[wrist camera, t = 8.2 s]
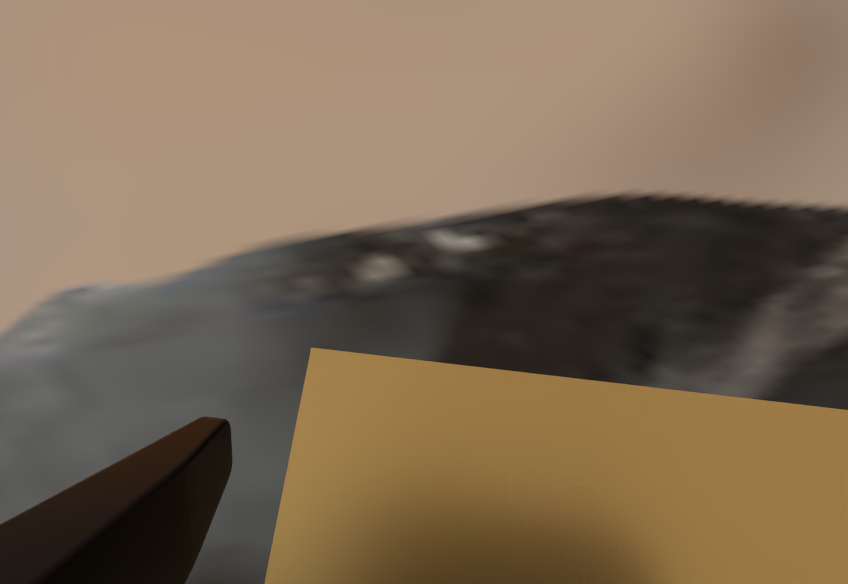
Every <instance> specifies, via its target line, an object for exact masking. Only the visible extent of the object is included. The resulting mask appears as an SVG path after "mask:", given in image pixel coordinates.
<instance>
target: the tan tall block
mask: <svg viewBox="0 0 848 584" xmlns="http://www.w3.org/2000/svg"><path fill="white" fill-rule="evenodd" d="M264 584H848V410H843V409H834V408H825V407H817V406H808V405H800V404H791V403H783V402H774V401H765V400H757V399H748V398H740V397H731V396H722V395H714V394H705V393H697V392H688V391H679V390H671V389H662V388H654V387H645V386H637V385H628V384H619V383H611V382H602V381H594V380H585V379H576V378H568V377H559V376H551V375H542V374H533V373H525V372H516V371H508V370H499V369H491V368H482V367H473V366H465V365H456V364H448V363H439V362H430V361H422V360H413V359H405V358H396V357H387V356H379V355H370V354H362V353H353V352H345V351H336V350H327V349H319V348H311V352H310V357H309V362H308V367H307V372H306V377H305V382H304V387H303V392H302V397H301V402H300V407H299V412H298V417H297V422H296V428H295V433H294V438H293V443H292V448H291V453H290V458H289V463H288V468H287V473H286V478H285V483H284V488H283V493H282V498H281V503H280V508H279V513H278V518H277V523H276V528H275V533H274V538H273V543H272V548H271V553H270V558H269V563H268V568H267V573H266V578H265V583H264Z"/></svg>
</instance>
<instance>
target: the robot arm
mask: <svg viewBox="0 0 848 584" xmlns="http://www.w3.org/2000/svg"><path fill="white" fill-rule="evenodd" d="M231 468H232V444H231V427H230V424H229V422H228V421H227V420H226V419H221V418H213V417H201V418H199V419H197V420H195V421H193V422H191V423H189V424H187V425H186V426H184V427H182V428H180V429H178V430H176V431H174V432H172V433H171V434H169V435H167V436H165V437H163V438H161V439H159V440H157V441H156V442H154V443H152V444H150V445H148V446H146V447H144V448H142V449H141V450H139V451H137V452H135V453H133V454H131V455H129V456H127V457H126V458H124V459H122V460H120V461H118V462H116V463H114V464H112V465H111V466H109V467H107V468H105V469H103V470H101V471H99V472H97V473H96V474H94V475H92V476H90V477H88V478H86V479H84V480H82V481H81V482H79V483H77V484H75V485H73V486H71V487H69V488H67V489H65V490H64V491H62V492H60V493H58V494H56V495H54V496H52V497H50V498H49V499H47V500H45V501H43V502H41V503H39V504H37V505H35V506H34V507H32V508H30V509H28V510H26V511H24V512H22V513H20V514H19V515H17V516H15V517H13V518H11V519H9V520H7V521H5V522H4V523H2V524H0V584H185V582H186V580H187V578H188V576H189V574H190V572H191V570H192V568H193V566H194V564H195V562H196V559H197V557H198V554H199V552H200V550H201V547H202V545H203V542H204V540H205V537H206V534H207V532H208V529H209V527H210V524H211V522H212V519H213V517H214V514H215V512H216V509H217V507H218V504H219V502H220V499H221V497H222V494H223V491H224V489H225V486H226V484H227V481H228V479H229V476H230V473H231Z"/></svg>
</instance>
